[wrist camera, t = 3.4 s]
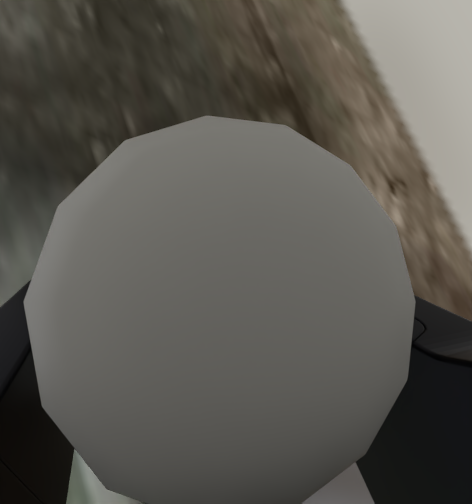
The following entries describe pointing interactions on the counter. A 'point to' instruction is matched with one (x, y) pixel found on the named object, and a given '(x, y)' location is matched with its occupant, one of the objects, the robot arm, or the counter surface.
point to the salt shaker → (220, 316)
